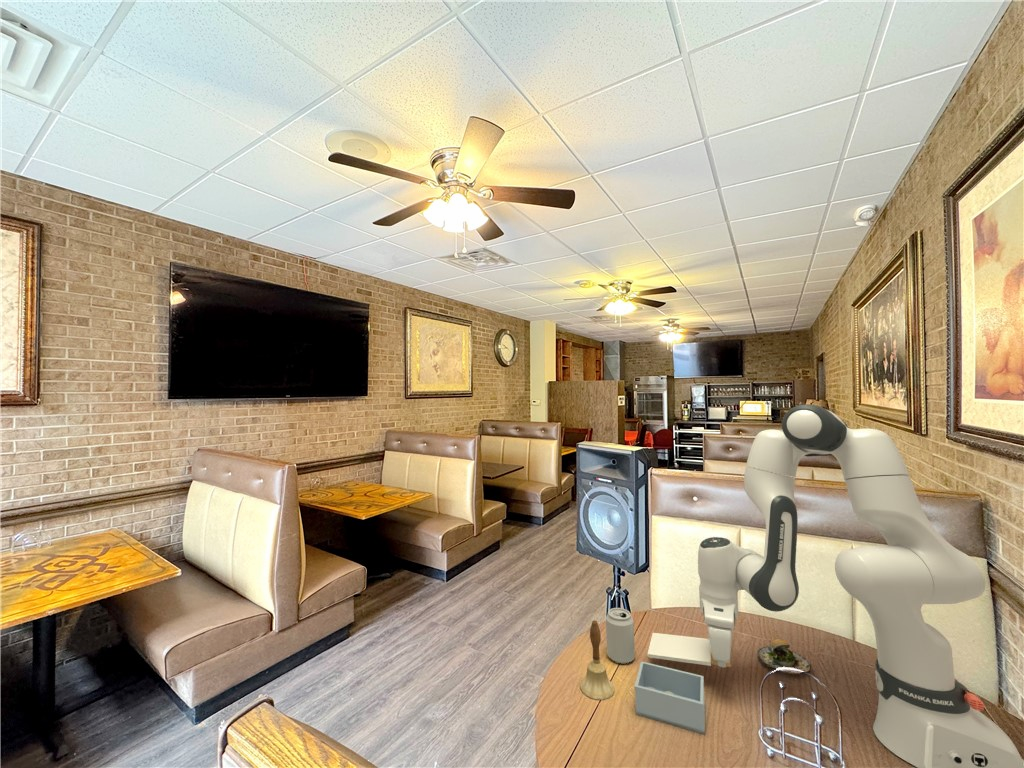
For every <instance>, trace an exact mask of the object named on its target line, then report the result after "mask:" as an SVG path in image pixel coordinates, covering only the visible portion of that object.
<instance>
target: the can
mask: <svg viewBox="0 0 1024 768" xmlns="http://www.w3.org/2000/svg"><path fill="white" fill-rule="evenodd" d="M634 620H635V619H634V618H633V616H632V614H631V612H630V611H629V610H628V609H625V608H621V607H614V608H610V609H609V610H608V612H607V614H606V616H605V634H606V637H605V638H606V653H607V654H606V655H607V656H608V657H609V658H610V659H611V661H613V662H614V661H615V662H614V663H616V664H620V663H621V665H627V664H630V663H631V662H632V661H634V659H635V658H636V657H635V656H636V652H635V651H636V650H635V649H636V647H635V646H636V645H635V623H634V622H635V621H634ZM629 662H630V663H629ZM626 663H627V664H626Z"/></svg>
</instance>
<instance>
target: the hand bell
mask: <svg viewBox="0 0 1024 768" xmlns="http://www.w3.org/2000/svg"><path fill="white" fill-rule="evenodd" d="M589 639H590V644H591V645H592V660H590V661H589V662H588V663H587V668H586V675H585V677H583V678H582V680H581V681H580V684H579V687H580V690H581V693H582V694H583V695H584V696H586V697H588V698H590V699H592V700H596V701H605V700H608V699H611V698H612V697H613V695H614V694H615V686H614V685H613V683H612V681H611V680H610V679H609V678H608V672H607V667H606V664H605V663H603V662H602V661H601V658H600V655H601V654H600V645H601V640H602V639H601V630H600V626H599V623H598V621H597V620H592V621H591V626H590V630H589Z"/></svg>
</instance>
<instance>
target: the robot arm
mask: <svg viewBox="0 0 1024 768" xmlns="http://www.w3.org/2000/svg"><path fill="white" fill-rule="evenodd" d="M828 456H834V457H835V458H836V460H837V462H838V463H839V464H838V465H839V466H840V468H841V472H842V475H843V479H844V483H845V487H846V489H847V493H848V496H849V497H848V498H849V500H850V505H851V507H852V510H853V513H854V515H856V517H857V518H858V519H860V520H861V521H862V522H864V523H866V524H868V525H871V526H872V527H874V528H875V529H876V530H878V532H879V533H880V535H882V537H883V539H884V540H885V542H886V543H887V545H862V546H858V547H855V548H854V547H853V548H849V549H846V550H843V551H841V552H839V553H838V554H837V556H836V558H835V562H834V571H835V575H836V577H837V580H838V583H839V584H840V585H841V587H842V588H843V589H844V590H845V592H847V594H848V595H850V596H851V597H852V598H854V599H855V600H856V601H858V602H859V603H860V604H861V605H862V607H864V609H865V611H866V612H867V614H868V615H869V618H870V620H871V622H872V626H873V630H874V634H875V635H874V636H875V645H876V653H877V659H876V660H875V672H874V673H875V683H876V688H877V690H878V701H877V702H878V704H877V710H876V716H875V719H874V722H873V725H872V729H873V733H874V735H875V737H876V738H877V739H878V740H879V742H880V743H881V744H882V745H883V746H884V747H886V749H888V750H889V752H891V753H893V754H894V755H896V756H897V757H899V758H900V759H902V760H904V761H905V762H907V763H908V764H911V765H912V766H914V767H916V768H1024V759H1023V758H1022V757H1021V754H1020V753H1019V751H1018V749H1017V747H1016V745H1015V744H1014V743H1013V741H1012V739H1011V738H1010V737H1009V736H1008V735H1007V733H1005V732H1004V730H1002V728H1000V727H1001V726H998V725H997V724H996V723H995V722H994V721H992V720H991V719H990V718H989V717H987V716H986V715H985V714H983V713H982V712H981V711H983V710H984V709H985V705H984V703H983V701H982V700H981V699H980V698H979V697H978V696H977V695H975V694H974V693H970V690H969V689H968V688H967V687H966V686H965V685H964V684H962V683H961V682H959V681H958V679H956V677H955V670H954V657H953V648H952V645H951V644H950V643H951V642H949V640H948V639H947V637H946V636H944V634H942V632H941V631H939V630H938V629H936V628H935V627H934V626H932V625H931V624H929V623H927V622H926V621H925V620H924V616H923V614H922V606H923V605H952V604H953V605H954V604H955V605H956V604H959V603H964V602H967V601H968V602H969V601H970V600H974V599H977V598H979V597H981V596H982V595H983V594H984V592H985V589H986V578H985V576H984V573H983V571H982V569H981V568H980V566H979V565H978V563H976V561H975V560H974V559H973V558H972V557H971V556H969V555H968V554H967V553H965V552H963V551H961V550H960V549H958V548H956V547H955V546H953V545H952V544H951V543H949V542H948V540H946V539H945V538H944V537H943V536H942V535H941V534H940V533H939V531H937V530H936V528H935V527H934V526H933V524H932V523H931V521H930V520H929V518H928V517H927V515H926V513H925V512H924V509H923V507H922V505H921V502H920V500H919V497H918V496H917V492H916V490H915V487H914V484H913V482H912V479H911V477H910V473H909V471H908V468H907V467H908V466H906V464H905V461H904V459H903V456H902V455H901V452H900V451H899V449H898V447H897V446H896V444H895V442H894V441H893V439H892V438H891V436H890V435H889V434H887V433H886V432H884V431H882V430H880V429H875V428H867V427H866V428H865V427H864V428H850V427H849V425H848V424H847V422H845V421H844V420H843V419H841V418H840V417H839V415H837V414H836V413H834V412H832V411H830V410H829V409H826V408H824V407H822V406H820V405H818V404H817V405H816V404H800V405H796V406H794V407H792V408H790V409H788V410H787V412H785V414H784V415H783V417H782V421H781V429H774V428H773V429H764V430H762V431H759V432H758V433H757V434H756V435H755V437H754V439H753V442H752V444H751V447H750V450H749V452H748V457H747V460H746V465H745V471H744V475H743V485H744V486H743V487H744V491H745V494H746V495H747V497H748V498H749V499H750V501H751V502H752V503H753V504H754V505H755V506H756V508H757V509H758V510H759V512H760V513H761V515H762V517H763V520H764V523H765V540H764V549H763V550H764V553H763V555H762V554H760V553H758V552H756V551H754V550H752V549H748V548H744V547H741V546H740V545H737V544H735V543H734V542H732V541H731V540H730V539H728V538H725V537H719V536H712V537H707V538H705V539H703V540H702V541H701V542H700V544H699V547H698V551H697V552H698V553H697V572H698V577H699V586H698V593H699V595H698V596H699V598H698V599H699V609H700V610H701V612H702V614H703V615H702V616H703V620H704V624H706V626H707V627H706V628H707V633H708V639H709V640H710V647H711V653H712V657H713V659H714V660H716V661H717V663H718V665H717V666H718V667H719V668H723V669H724V668H726V667H727V666H726V663H729V662H730V661H731V656H732V641H733V639H732V637H733V630H734V629H735V626H736V625H735V624H736V620H737V618H738V616H739V601H738V599H739V598H738V592H739V591H745V592H747V594H748V595H750V596H751V597H752V598H753V599H754V600H755V601H756V602H757V604H759V606H761V607H762V608H764V609H765V610H768V611H771V612H775V613H776V612H777V613H778V612H783V611H786V610H788V609H790V608H791V607H793V606H794V604H795V603H796V602H797V600H798V597H799V593H800V588H799V587H800V586H799V581H798V577H797V568H796V562H797V558H796V557H797V556H796V555H797V544H798V543H797V541H798V522H799V521H798V510H797V507H796V502H795V485H796V477H797V472H798V471H797V470H798V467H799V463H800V462H801V459H802V458H803V457H828Z"/></svg>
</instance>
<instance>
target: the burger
mask: <svg viewBox="0 0 1024 768" xmlns="http://www.w3.org/2000/svg"><path fill="white" fill-rule="evenodd" d="M776 633H778V632H777V631H776ZM776 637H777V639H774V640H773V641H772V643H771V644H770V645H771V646H763V647H761V648H759V649H758V651H757V658H758V661H759V662H760V664H761V666H762V667H763V668H764V669H767V667H770V668H771V669H773V670H775V669H776V668H778V667H783V666H785V667H794V668H797V669H801V670H803V671H805V673H808V672H809V671H811V670H813V667H812V664H810V662H809V660H807V659H806V658H805V656H802V655H801V654H799V653H798V652H794V651H793V650H791V649H790V647H791V645H790V644H789V642H787V641H786V640H784V639H781V638H779V635H778V634H776ZM780 672H781V673H784V674H790V675H800V673H795V672H791V671H780Z"/></svg>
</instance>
